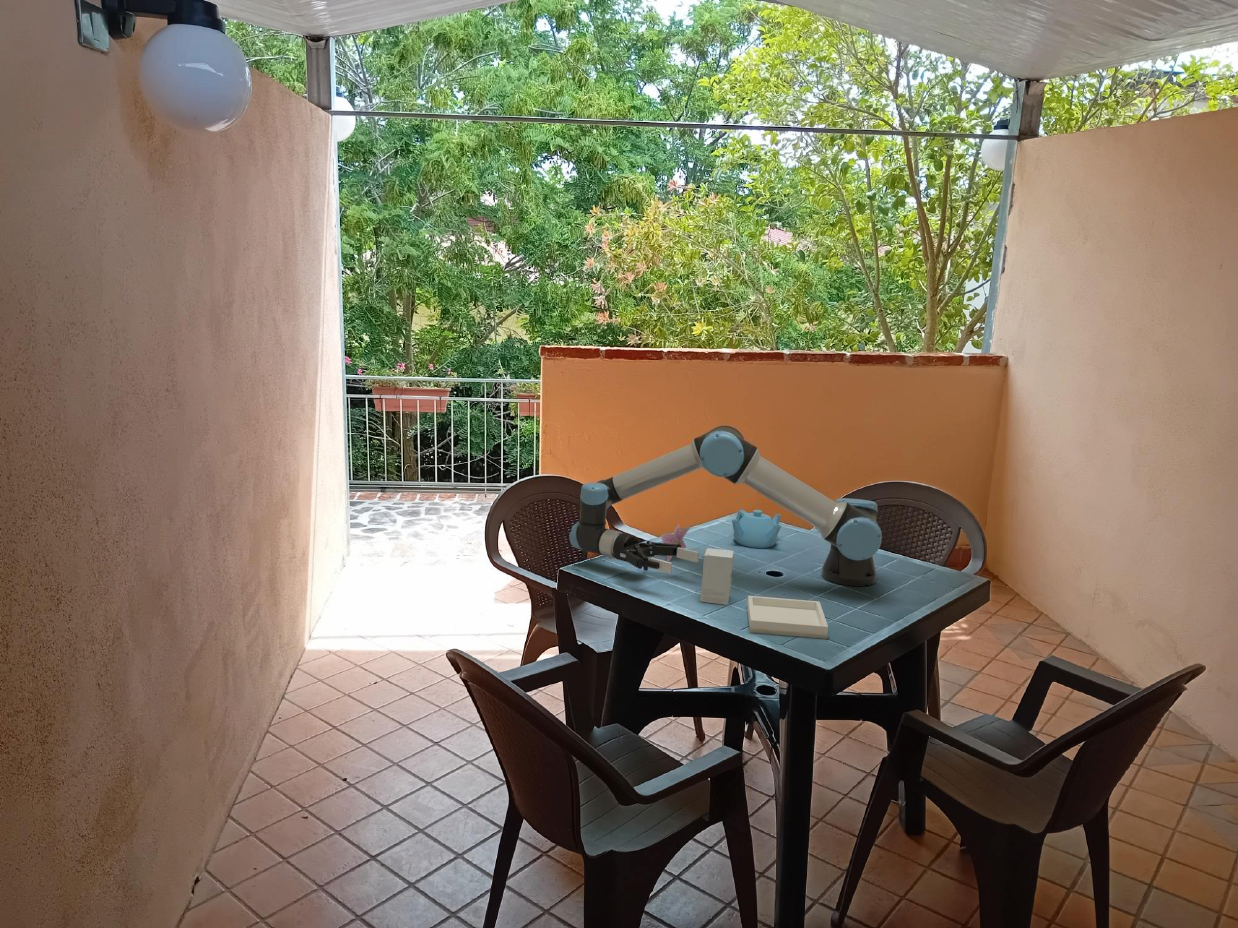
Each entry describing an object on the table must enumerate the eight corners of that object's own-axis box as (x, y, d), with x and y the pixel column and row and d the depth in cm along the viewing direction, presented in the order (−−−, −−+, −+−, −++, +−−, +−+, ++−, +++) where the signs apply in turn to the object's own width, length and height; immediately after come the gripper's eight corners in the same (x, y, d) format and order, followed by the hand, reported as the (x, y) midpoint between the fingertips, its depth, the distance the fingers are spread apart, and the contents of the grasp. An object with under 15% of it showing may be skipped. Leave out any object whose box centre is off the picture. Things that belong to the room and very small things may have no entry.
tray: (818, 612, 238) (819, 601, 237) (826, 638, 220) (828, 626, 220) (746, 606, 239) (747, 595, 239) (749, 632, 222) (750, 620, 221)
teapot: (780, 539, 306) (783, 507, 304) (778, 552, 291) (781, 518, 289) (733, 534, 309) (736, 503, 307) (729, 546, 294) (732, 513, 292)
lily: (661, 552, 287) (651, 527, 283) (697, 540, 286) (688, 515, 281) (664, 575, 277) (654, 550, 272) (702, 563, 276) (692, 537, 271)
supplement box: (728, 605, 240) (732, 557, 237) (699, 602, 241) (703, 554, 239) (730, 596, 247) (734, 550, 244) (702, 593, 248) (706, 547, 246)
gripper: (643, 550, 271) (707, 566, 259) (591, 568, 251) (658, 586, 239) (645, 524, 269) (709, 540, 257) (593, 541, 249) (660, 558, 237)
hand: (685, 562), depth 248 cm, fingers open, 13 cm apart
